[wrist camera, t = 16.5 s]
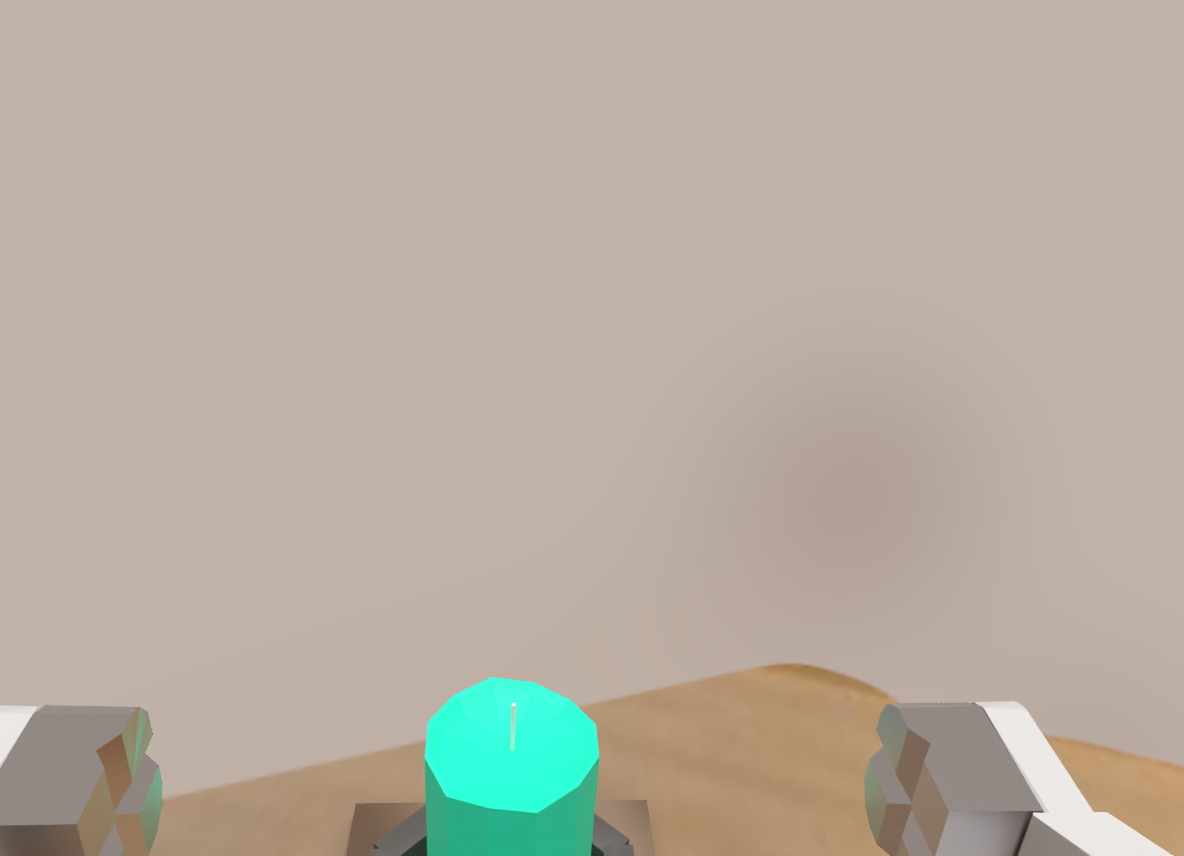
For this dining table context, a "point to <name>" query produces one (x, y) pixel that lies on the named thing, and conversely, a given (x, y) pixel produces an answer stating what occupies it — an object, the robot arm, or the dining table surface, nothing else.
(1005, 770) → the robot arm
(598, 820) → the collar holder
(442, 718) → the candle
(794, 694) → the dining table surface
